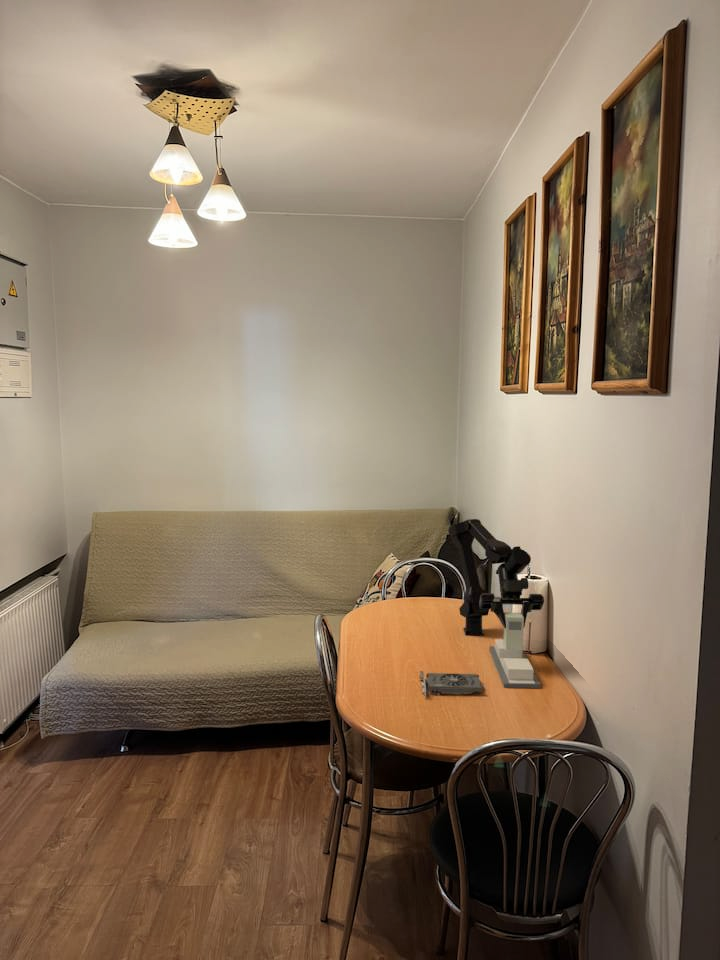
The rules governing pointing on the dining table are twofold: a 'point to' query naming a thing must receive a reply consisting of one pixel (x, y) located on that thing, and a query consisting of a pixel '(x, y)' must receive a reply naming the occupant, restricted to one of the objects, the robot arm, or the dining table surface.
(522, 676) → the board
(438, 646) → the dining table surface
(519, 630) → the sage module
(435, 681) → the graphics card
